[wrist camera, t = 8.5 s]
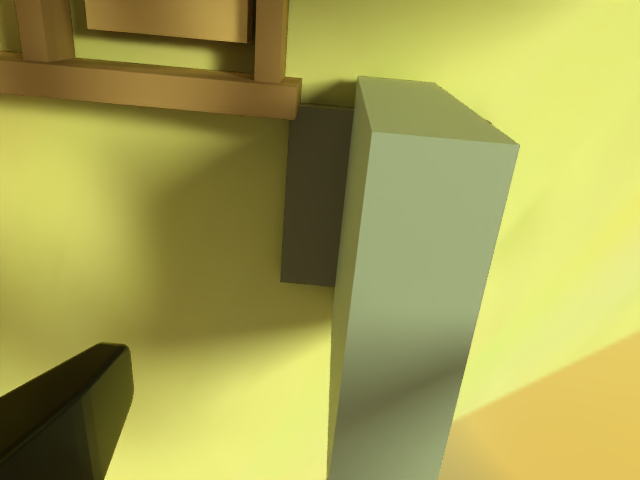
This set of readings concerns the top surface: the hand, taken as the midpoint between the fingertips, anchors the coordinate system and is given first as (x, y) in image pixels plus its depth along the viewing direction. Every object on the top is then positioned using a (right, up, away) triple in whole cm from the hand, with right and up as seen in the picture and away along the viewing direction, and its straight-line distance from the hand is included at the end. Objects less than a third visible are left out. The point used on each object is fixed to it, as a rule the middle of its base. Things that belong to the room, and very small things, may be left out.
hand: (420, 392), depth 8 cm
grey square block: (+1, +3, +11) cm, 12 cm away
